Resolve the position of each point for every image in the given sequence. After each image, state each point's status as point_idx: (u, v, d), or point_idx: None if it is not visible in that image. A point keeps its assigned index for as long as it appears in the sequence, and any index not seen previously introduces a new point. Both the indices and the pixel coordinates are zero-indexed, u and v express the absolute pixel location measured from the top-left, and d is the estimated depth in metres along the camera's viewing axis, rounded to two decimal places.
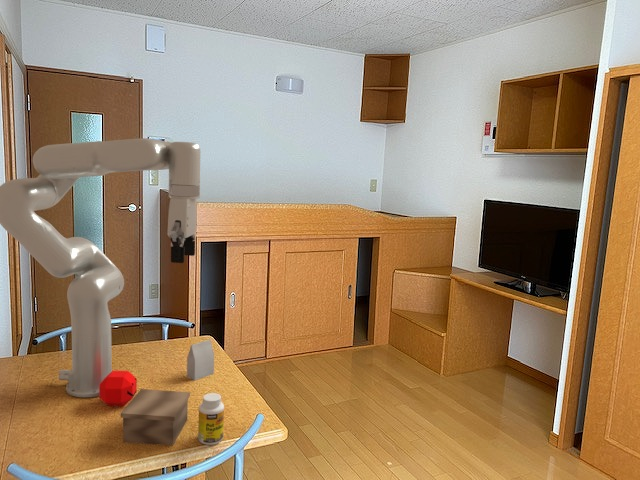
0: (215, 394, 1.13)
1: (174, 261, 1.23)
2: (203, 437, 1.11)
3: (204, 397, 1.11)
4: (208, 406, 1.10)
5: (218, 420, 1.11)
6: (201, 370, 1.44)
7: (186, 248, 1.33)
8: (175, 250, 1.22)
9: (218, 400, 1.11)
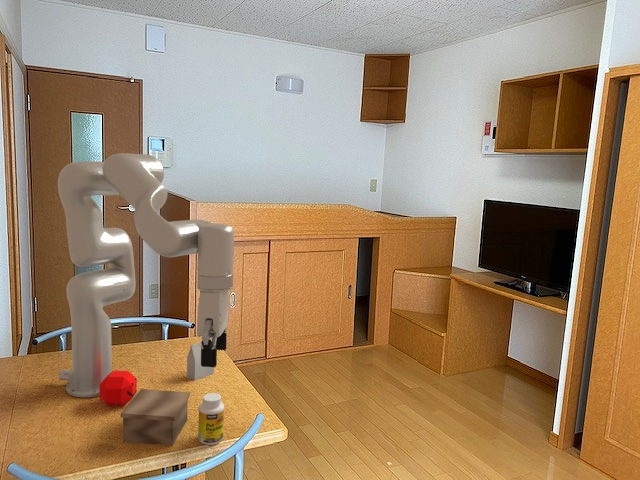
0: (215, 394, 1.13)
1: (205, 365, 1.05)
2: (203, 438, 1.11)
3: (204, 397, 1.11)
4: (208, 406, 1.10)
5: (218, 420, 1.11)
6: (201, 370, 1.44)
7: (216, 342, 1.14)
8: (206, 353, 1.04)
9: (218, 400, 1.11)
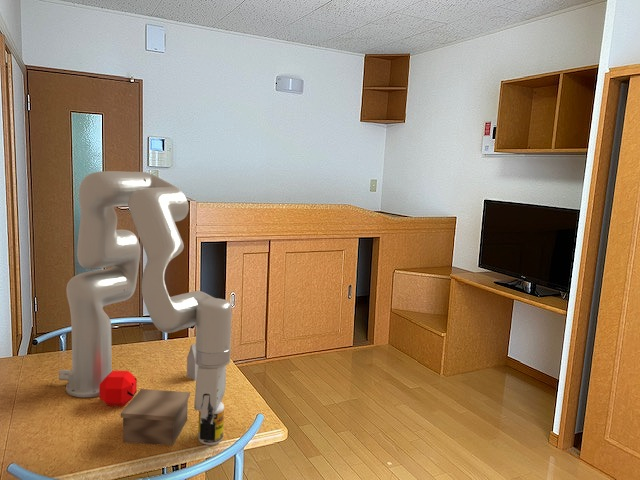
0: None
1: (204, 438, 1.10)
2: None
3: None
4: None
5: (218, 420, 1.11)
6: None
7: None
8: (205, 428, 1.08)
9: None
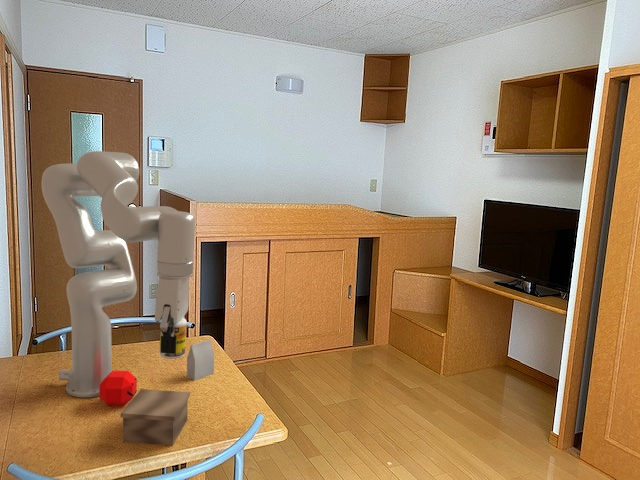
0: None
1: (164, 351, 1.09)
2: None
3: None
4: (170, 319, 1.09)
5: (179, 334, 1.09)
6: (201, 370, 1.44)
7: None
8: (165, 340, 1.07)
9: None
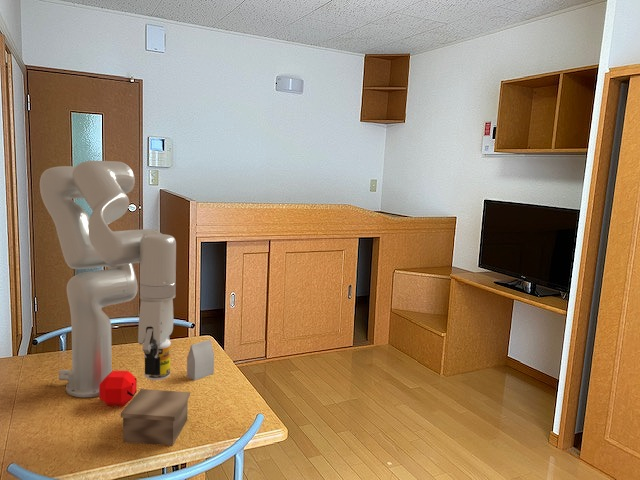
0: None
1: (149, 373, 1.10)
2: None
3: None
4: (153, 341, 1.10)
5: (163, 355, 1.11)
6: (201, 370, 1.44)
7: None
8: (149, 362, 1.09)
9: None
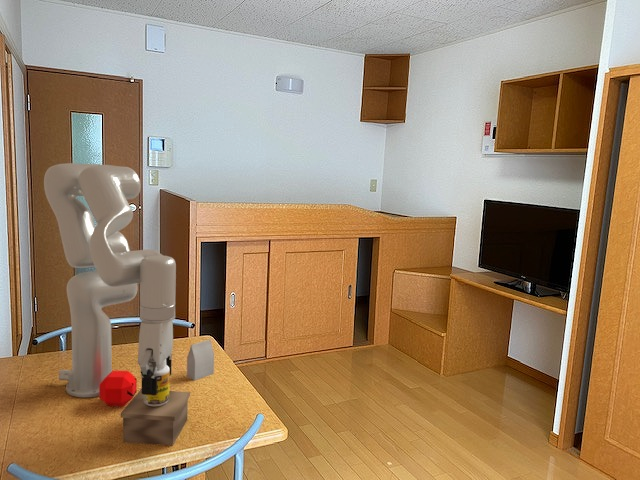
0: None
1: (145, 393, 1.09)
2: (147, 399, 1.12)
3: None
4: (152, 368, 1.11)
5: (162, 382, 1.12)
6: (201, 370, 1.44)
7: None
8: (146, 382, 1.08)
9: (163, 363, 1.12)
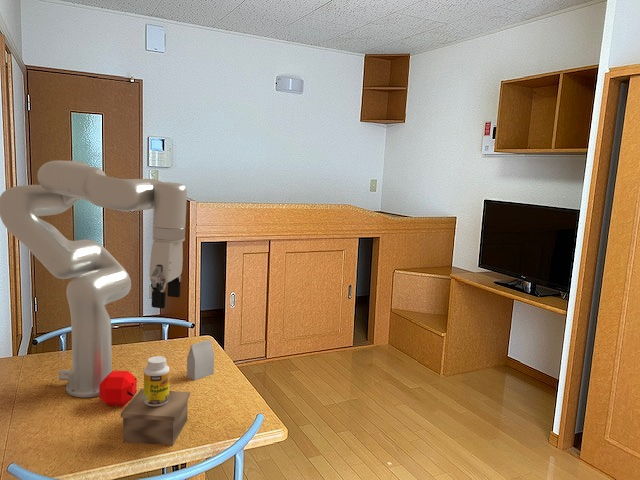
0: (161, 357, 1.14)
1: (155, 306, 1.19)
2: (147, 399, 1.12)
3: (149, 359, 1.13)
4: (152, 368, 1.11)
5: (162, 382, 1.12)
6: (201, 370, 1.44)
7: (171, 289, 1.28)
8: (155, 295, 1.18)
9: (163, 362, 1.12)
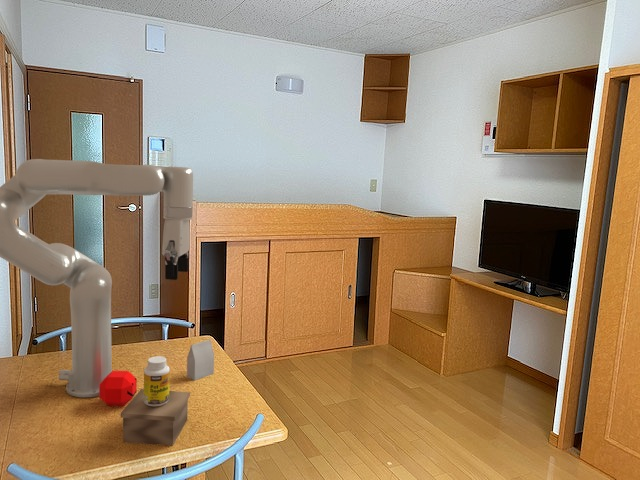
0: (161, 357, 1.14)
1: (168, 278, 1.33)
2: (147, 399, 1.12)
3: (149, 359, 1.13)
4: (152, 368, 1.11)
5: (162, 382, 1.12)
6: (201, 370, 1.44)
7: (180, 265, 1.42)
8: (169, 268, 1.31)
9: (163, 363, 1.12)
